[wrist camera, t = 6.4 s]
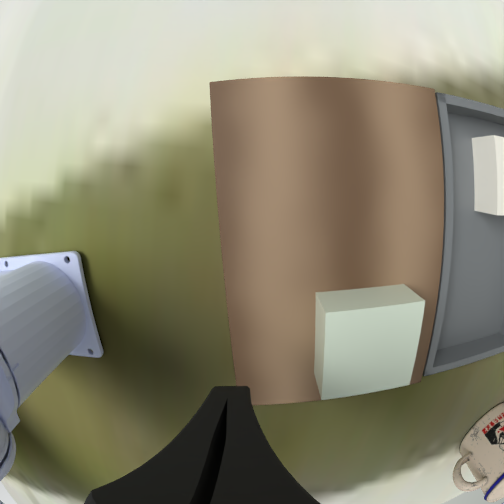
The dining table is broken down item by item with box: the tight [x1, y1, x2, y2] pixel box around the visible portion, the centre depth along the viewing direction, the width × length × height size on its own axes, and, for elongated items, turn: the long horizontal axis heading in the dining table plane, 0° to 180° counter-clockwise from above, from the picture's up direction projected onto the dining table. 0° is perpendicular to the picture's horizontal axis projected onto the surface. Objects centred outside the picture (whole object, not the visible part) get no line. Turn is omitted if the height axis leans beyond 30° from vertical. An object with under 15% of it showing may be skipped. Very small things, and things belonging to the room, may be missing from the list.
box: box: [423, 92, 504, 376], centre depth 16 cm, size 10×18×2 cm, turn 4°
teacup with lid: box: [453, 403, 504, 502], centre depth 16 cm, size 12×9×12 cm
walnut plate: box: [210, 77, 444, 405], centre depth 16 cm, size 12×18×3 cm, turn 4°
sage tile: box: [314, 284, 425, 400], centre depth 14 cm, size 5×5×2 cm
